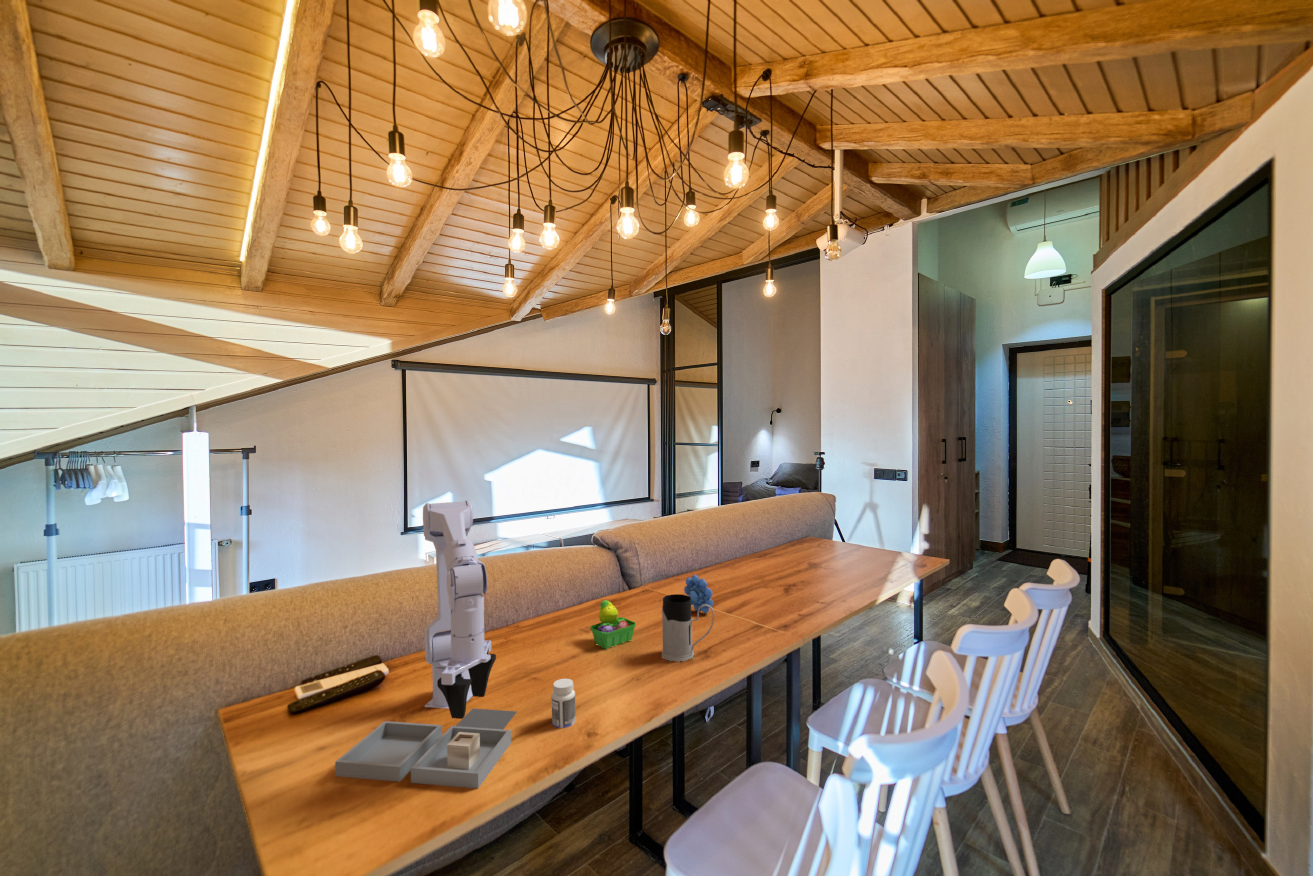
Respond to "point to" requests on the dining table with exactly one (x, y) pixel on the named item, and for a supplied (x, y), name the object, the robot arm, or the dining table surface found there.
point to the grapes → (698, 593)
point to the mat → (487, 719)
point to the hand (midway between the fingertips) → (468, 706)
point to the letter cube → (463, 750)
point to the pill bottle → (563, 703)
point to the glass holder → (678, 627)
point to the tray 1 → (388, 751)
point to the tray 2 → (437, 772)
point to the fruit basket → (611, 627)
